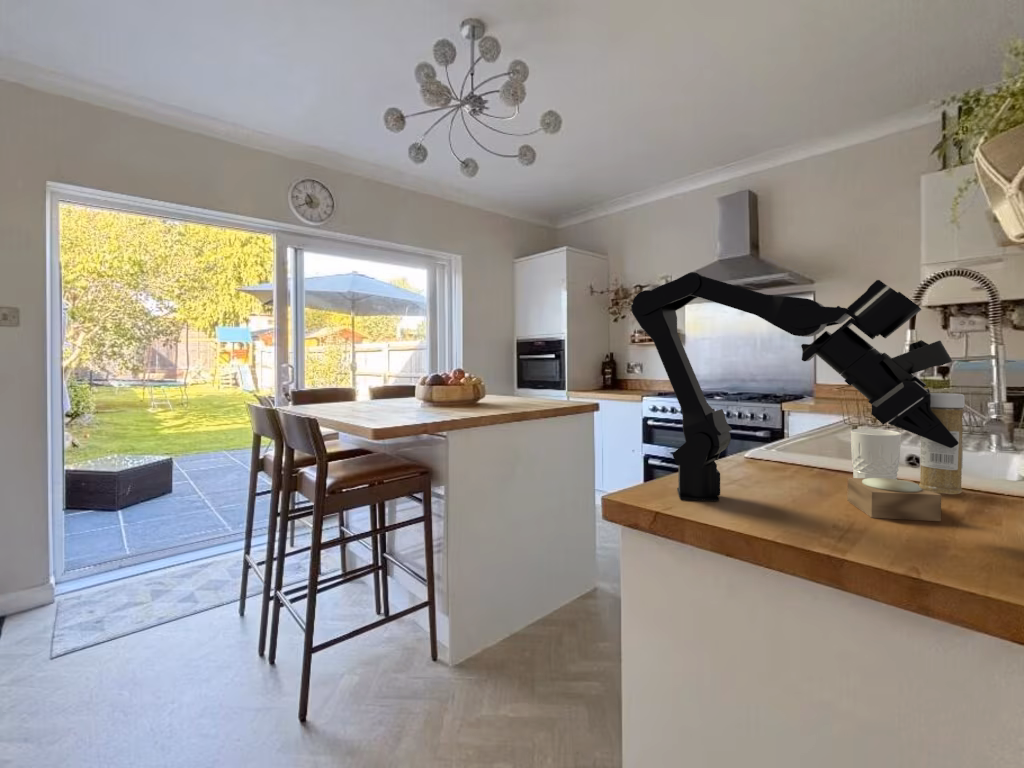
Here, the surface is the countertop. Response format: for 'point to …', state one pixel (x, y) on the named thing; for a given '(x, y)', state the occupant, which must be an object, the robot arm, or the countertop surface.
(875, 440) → the white cup
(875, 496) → the riser
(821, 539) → the countertop surface
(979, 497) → the countertop surface
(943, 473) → the sprinkles bottle
